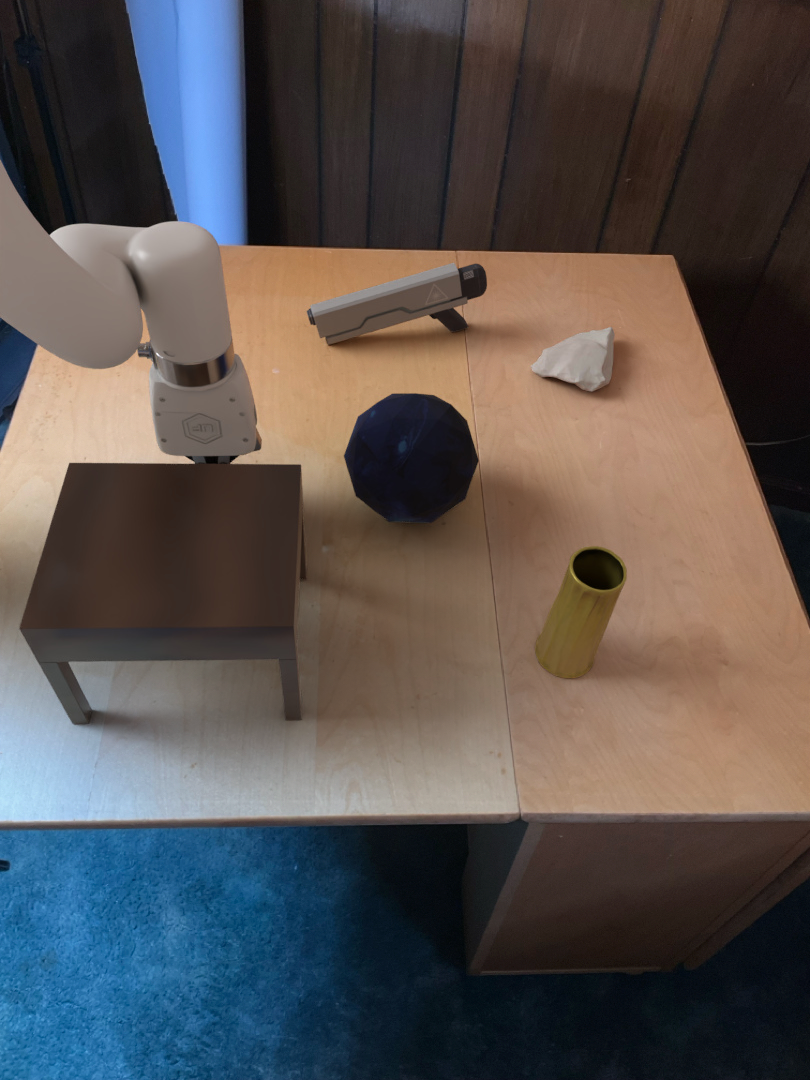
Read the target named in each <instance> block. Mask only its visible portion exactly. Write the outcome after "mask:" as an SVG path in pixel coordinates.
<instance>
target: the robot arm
mask: <svg viewBox="0 0 810 1080" xmlns="http://www.w3.org/2000/svg"><path fill="white" fill-rule="evenodd" d="M225 282H226V281H225V275H224V267H223V261H222V254H221V249H220V246H219V243H218V241H217V239H216V238H215V236H214V235H213V234H212V233H211V232H210V231H209V230H208V229H206V228H204V227H203V226H201V225H198V224H195V223H193V222H189V221H180V220H178V221H177V220H174V221H173V220H172V221H164V222H159V223H157V224H153V225H151V226H149V227H139V226H137V227H136V226H123V225H113V224H112V225H111V224H99V223H74V224H68V225H65V226H61V227H59V228H57V229H56V230H54V231H52V232H51V233H50V234H49V233H48V232H47V231H46V230H45V229H44V227H43V226H42V225H41V224H40V222H39V221H38V219H36V217H35V216H34V215H33V213H32V212H31V210H30V209H29V208H28V206H27V205H26V203H25V201H23V198H22V197H21V195H20V193H19V192H18V191H17V189H16V187H15V186H14V184H13V182H12V180H11V178H10V176H9V174H8V171H7V170H6V168H5V166H4V164H3V162H2V160H1V159H0V318H1V319H2V320H3V321H4V322H5V323H6V324H8V325H10V326H11V327H13V328H14V329H15V330H17V331H18V332H20V333H21V334H22V335H23V336H25V337H27V338H28V339H29V340H31V341H32V342H34V343H35V344H36V345H38V346H39V347H41V348H42V349H44V350H45V351H47V352H49V353H51V354H52V355H54V356H55V357H57V358H58V359H61V360H63V361H65V362H67V363H69V364H72V365H74V366H78V367H81V368H86V369H90V370H91V369H92V370H106V369H111V368H116V367H118V366H120V365H122V364H124V363H125V362H127V361H129V360H130V359H131V358H132V357H133V356H134V355H135V353H136V352H137V355H138V358H146V359H147V360H150V361H151V362H152V363H151V365H150V368H149V372H148V374H149V375H148V389H149V390H148V392H149V403H150V410H151V416H152V417H151V418H152V422H153V429H154V435H155V439H156V443H157V444H156V445H157V446H158V449H159V451H161V452H162V453H164V454H166V455H169V456H174V457H186V458H187V459H188V460H190V461H192V462H193V463H194V464H232V462H234V461H235V460H237V458H239V457H240V456H245V455H248V454H251V453H253V452H258V451H260V450H262V443H263V439H262V437H261V434H260V433H259V430H258V428H257V424H258V415H257V414H258V413H257V408H256V402H255V398H254V393H253V389H252V386H251V382H250V379H249V376H248V373H247V370H246V368H245V365H244V363H243V360H242V358H241V357H240V355H239V354H237V353H235V347H234V340H233V331H232V327H231V324H232V323H231V319H230V311H229V303H228V295H227V290H226V283H225ZM142 313H143V315H144V319H145V324H146V328H147V332H148V336H149V341H145V343H144V342H143V343H142V339H143V332H144V321H143V315H142Z"/></svg>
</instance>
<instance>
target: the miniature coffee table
mask: <svg viewBox="0 0 810 1080" xmlns="http://www.w3.org/2000/svg"><path fill="white" fill-rule="evenodd" d="M302 475H303V473H302V464H300V463H299V464H297V463H296V464H295V463H294V464H293V463H291V464H289V463H285V464H284V463H279V464H278V463H230V464H195V463H168V462H167V463H166V462H165V463H161V462H160V463H157V462H156V463H155V462H153V463H152V462H68V466H67V468H66V472H65V475H64V478H63V483H62V486H61V489H60V492H59V494H58V495H59V496H58V498H57V502H56V505H55V509H54V511H53V515H52V518H51V521H50V525H49V529H48V531H47V535H46V537H45V542H44V545H43V548H42V552H41V555H40V558H39V561H38V566H37V568H36V572H35V574H34V578H33V580H32V581H33V582H32V585H31V588H30V590H29V591H30V592H29V594H28V599H27V601H26V605H25V608H24V611H23V615H22V618H21V620H20V621H21V622H20V624H19V629H18V630H19V631H20V633H21V635H22V637H23V638H24V641H25V642H26V644H27V645H28V647H29V649H30V651H31V652H32V655H33V657H34V658H35V659H36V662H37V663H38V665H39V667H40V669H41V670H42V672H43V674H44V676H45V677H46V680H47V681H48V683H49V685H50V686H51V688H52V690H53V692H54V693H55V695H56V697H57V699H58V700H59V703H60V704H61V706H62V708H63V710H64V712H65V713H66V715H67V717H68V719H69V720H70V722H71V724H72V725H88V724H90V720H91V717H92V716H91V715H92V710H93V709H92V707H91V705H90V703H89V701H88V699H87V697H86V695H85V692H84V690H83V689H82V687H81V684H80V683H79V681H78V679H77V677H76V675H75V672H74V671H73V668H72V667H71V665H70V663H81V662H83V663H85V662H92V663H93V662H95V663H96V662H170V661H171V662H172V661H174V662H175V661H182V662H183V661H247V660H248V661H251V660H252V661H254V660H255V661H259V660H261V661H262V660H265V661H266V660H267V661H268V660H278V666H279V674H280V675H279V676H280V684H281V692H282V702H283V710H284V711H283V712H284V718H285V721H301V720H302V715H303V701H302V689H301V675H300V665H299V662H300V661H299V651H298V635H299V634H298V631H299V612H300V611H299V609H300V608H299V607H300V587H301V584H300V583H301V582H300V581H301V580H307V576H308V575H307V574H308V573H307V571H308V568H307V567H308V565H307V547H306V531H305V528H306V527H305V511H304V493H303V476H302Z"/></svg>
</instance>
